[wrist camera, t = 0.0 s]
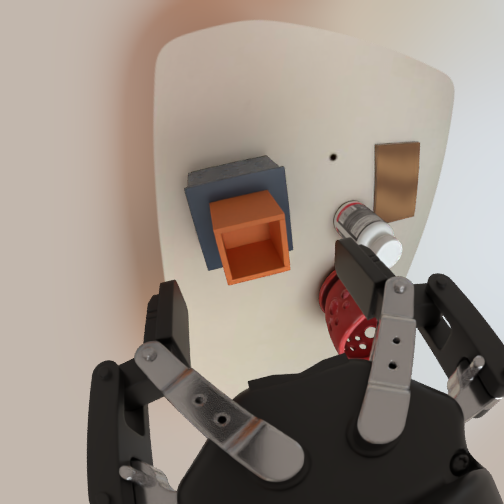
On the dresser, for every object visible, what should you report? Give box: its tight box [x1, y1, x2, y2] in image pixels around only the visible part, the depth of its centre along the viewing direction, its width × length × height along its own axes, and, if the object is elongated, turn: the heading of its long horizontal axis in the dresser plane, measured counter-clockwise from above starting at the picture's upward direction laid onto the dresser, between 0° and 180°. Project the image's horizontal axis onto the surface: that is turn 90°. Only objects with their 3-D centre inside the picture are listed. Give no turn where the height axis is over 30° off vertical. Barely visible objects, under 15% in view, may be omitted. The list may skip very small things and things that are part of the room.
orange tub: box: [209, 190, 290, 285], centre depth 25 cm, size 6×6×6 cm
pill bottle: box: [334, 201, 402, 268], centre depth 32 cm, size 5×5×10 cm
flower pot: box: [319, 270, 377, 360], centre depth 38 cm, size 13×13×12 cm
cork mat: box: [374, 142, 420, 223], centre depth 35 cm, size 12×8×1 cm, turn 9°
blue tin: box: [184, 156, 293, 271], centre depth 30 cm, size 9×9×6 cm
